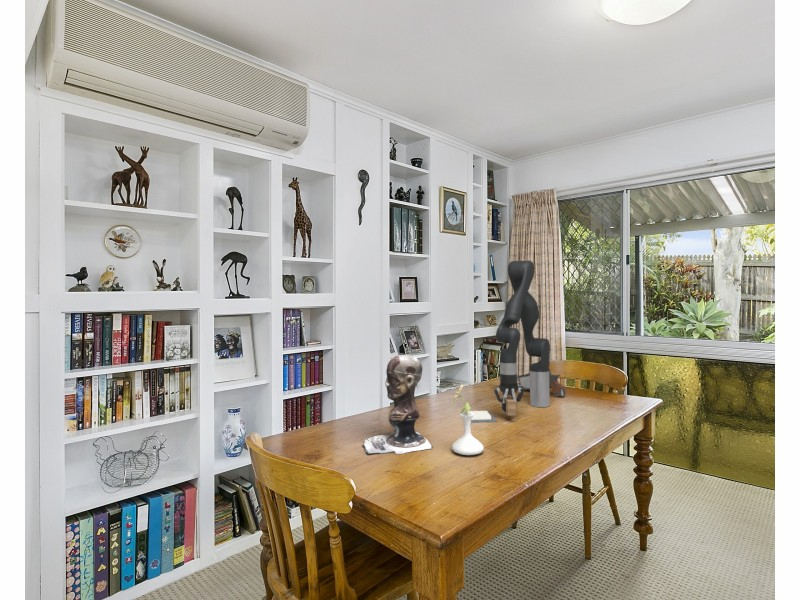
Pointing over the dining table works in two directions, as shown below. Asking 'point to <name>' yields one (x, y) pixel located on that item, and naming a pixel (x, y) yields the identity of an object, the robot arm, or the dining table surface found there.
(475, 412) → the tile
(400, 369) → the head bust
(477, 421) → the mat
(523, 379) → the gun
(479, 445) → the flower in vase
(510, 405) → the brown rectangular block
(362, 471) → the dining table surface
